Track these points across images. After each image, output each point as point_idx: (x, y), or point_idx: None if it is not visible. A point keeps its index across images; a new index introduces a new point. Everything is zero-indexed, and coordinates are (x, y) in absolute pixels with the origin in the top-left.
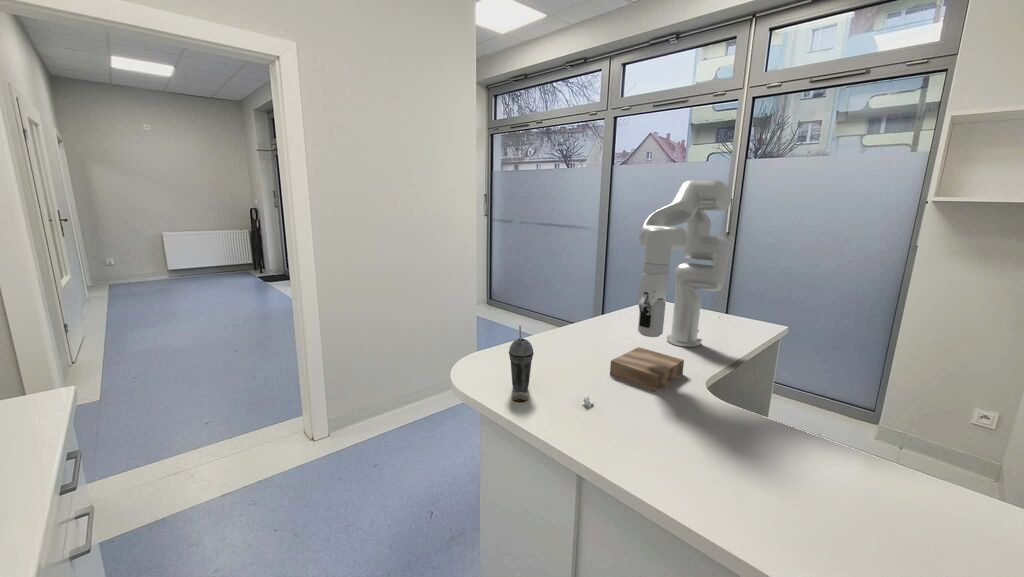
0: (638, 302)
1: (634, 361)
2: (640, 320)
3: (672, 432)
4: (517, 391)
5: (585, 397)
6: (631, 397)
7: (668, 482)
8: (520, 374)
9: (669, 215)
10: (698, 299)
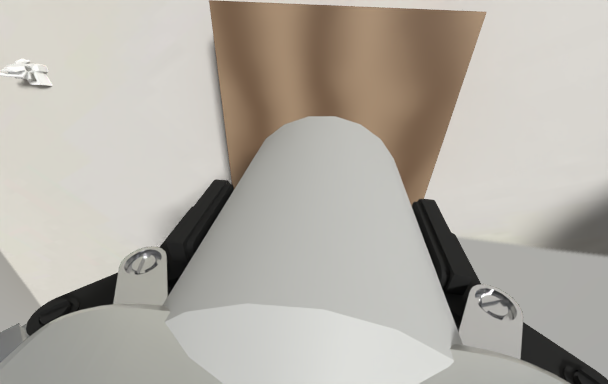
0: (27, 342)
1: (281, 90)
2: (199, 205)
3: (135, 238)
4: None
5: (4, 70)
6: (170, 137)
7: (45, 259)
8: None
9: None
10: None
